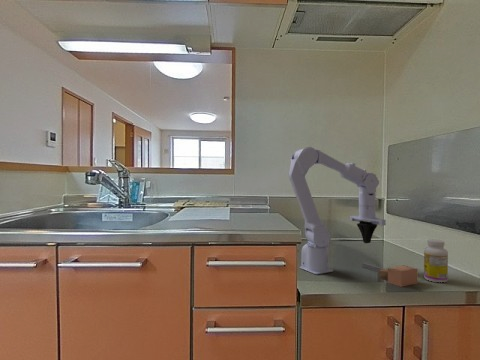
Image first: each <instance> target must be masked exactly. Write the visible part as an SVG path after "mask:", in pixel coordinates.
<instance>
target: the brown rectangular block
mask: <svg viewBox="0 0 480 360" xmlns="http://www.w3.org/2000/svg"><path fill="white" fill-rule="evenodd" d="M378 279H380V280H383V281H385V282H388V268H387V267H386V268H384V269H382V270H379V272H378Z"/></svg>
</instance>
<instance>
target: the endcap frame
mask: <svg viewBox="0 0 480 360" xmlns="http://www.w3.org/2000/svg"><path fill="white" fill-rule="evenodd" d="M361 265H362V268H363V269H364V268H365V269H367V270H370V271H373V272H378V273H379V270H382V269H385V268H384V267H380V266H377V265H373V264H369V263H366V262H362V263H361ZM387 269H388V281H387V283H388V284H391V285H395V286H397V287H401V288H402V287H406V286H411V285H415V284H418V268H415V267H412V266H408V265H399V266H398V265H397V266H392V267H388V268H387Z"/></svg>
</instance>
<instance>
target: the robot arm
mask: <svg viewBox="0 0 480 360" xmlns="http://www.w3.org/2000/svg"><path fill="white" fill-rule="evenodd" d="M318 164H319V165H323V166H324V167H327V168H329V169H331V170H334V171H336V172H338V173H339V175H340V177H341V178H342V179H345V180H347V181H349V182H351V183H353V184H355V185H356V187H358V215H350V216H349V217H350V218H349V219H350V222H358V223H356V226H357V228H358V229H359V231H360V233H361V238H362V241H363V243H364V244H370V243H371V240H372V239H373V234H374V232H375V230H376V229H377V227H378V225H379V226H381V227H382V226H386V221H387V220H386V219H383V218H380V217H379V218H378V217H377V216H376V195H377V194H376V193H377V188H378V186H379V184H380V180H379V178H378V177H377V175H376V173H373V172H368V171H367V169H365V168H363V169H362V168H360V167H358V166H357V165H356V163H355V162H347V163H345V164H344V163H343V162H340V161H339V160H338V159H335V158H334V157H332V156H330V155H328V154H327V153H325V152H323V151H321V150H319V149H315V148H314V147H311V146H307V147H304V148H299V149H296V150H295V151H294V152H293V154H292V156H291V157H290V166H289V170H288V171H289V172H288V177H289V181H290V184H291V186H292V188H293V191H294V195H295V198H296V200H297V203H298V206H299V208H300V212H301V214H302V217H303V220H304V223H303V224H304V226H303V227H304V229H305V230H304V231H305V233H304V237H305V239H306V240H307V243H305V244H304V245H303V246H302V247H301V252H300V253H301V257H300V258H301V263H300V264H301V266H299V269H301V270H304V271H307V272H308V273H311V274H314V275H322V274H326V273H333V272H334V270H333V269H331V268H329V258H328V257H329V244H330V243H331V239H332V235H331V233H330V232H329V230H327V228H326V227H325V224H324V222H323V221H322V220H321V219H320V216H319V213H318V211H317V208H316V205H315V203H314V199H313V197H312V194H311V190H310V188H309V185H308V182H307V179H306V175H307V173H308V172H309V169H311V168H312V166H314V165H318Z"/></svg>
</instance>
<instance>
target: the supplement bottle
mask: <svg viewBox="0 0 480 360" xmlns="http://www.w3.org/2000/svg"><path fill="white" fill-rule="evenodd" d="M427 245H428V246H427V247H426V248H424V250H423V255H424V256H423V260H424V261H423V268H424V269H423V274H424V275H423V278H424V279H425V280H427V281H428V280H429V281H428V282H431V281H432V283H437V282H439V283H440V282H441V284H442V282H444V283H446V282H448V280H449V264H448V263H449V252H448V250H447V249H446V248H445V241H444V240H442V239H441V240H440V239H431V238H430V239H427ZM439 283H438V284H439Z"/></svg>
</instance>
